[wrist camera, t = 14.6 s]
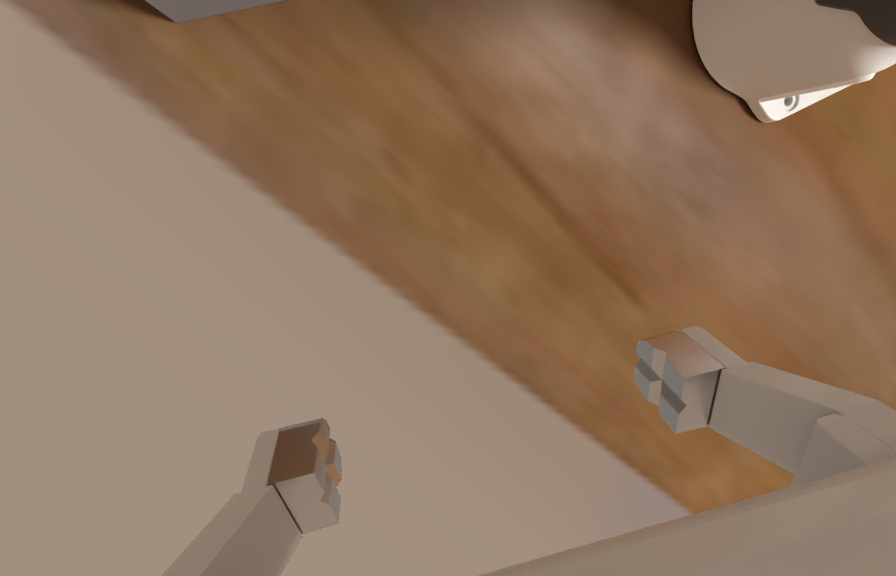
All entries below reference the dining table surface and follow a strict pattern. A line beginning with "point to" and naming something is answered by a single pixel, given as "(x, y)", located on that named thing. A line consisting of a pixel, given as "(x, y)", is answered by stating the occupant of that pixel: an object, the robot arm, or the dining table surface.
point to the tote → (203, 7)
